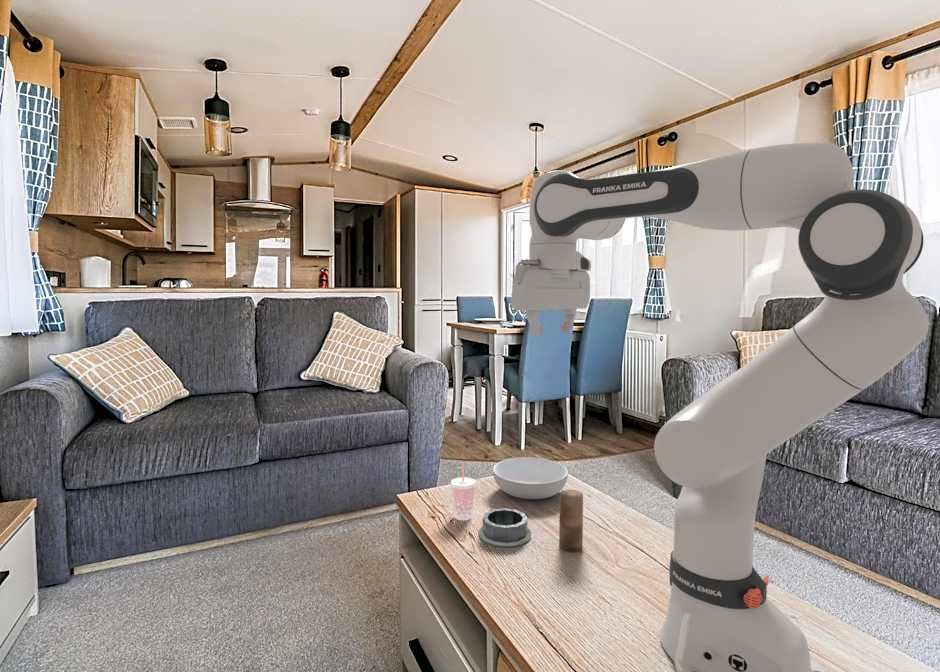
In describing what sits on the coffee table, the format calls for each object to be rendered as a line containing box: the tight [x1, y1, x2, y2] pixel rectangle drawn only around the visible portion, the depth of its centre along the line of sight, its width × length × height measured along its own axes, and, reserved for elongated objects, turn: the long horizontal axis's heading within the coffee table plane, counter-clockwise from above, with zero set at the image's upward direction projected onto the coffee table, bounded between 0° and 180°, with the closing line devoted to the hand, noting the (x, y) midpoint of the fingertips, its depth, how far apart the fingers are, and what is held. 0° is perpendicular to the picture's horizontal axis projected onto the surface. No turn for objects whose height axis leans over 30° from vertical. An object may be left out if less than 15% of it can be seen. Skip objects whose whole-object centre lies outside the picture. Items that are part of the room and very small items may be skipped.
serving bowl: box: [492, 456, 569, 500], centre depth 144 cm, size 21×21×7 cm
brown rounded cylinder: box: [558, 489, 584, 553], centre depth 112 cm, size 5×5×12 cm
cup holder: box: [478, 507, 532, 548], centre depth 119 cm, size 12×12×4 cm
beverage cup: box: [450, 461, 476, 521], centre depth 128 cm, size 6×6×14 cm
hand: (551, 333), depth 98 cm, fingers open, 8 cm apart
